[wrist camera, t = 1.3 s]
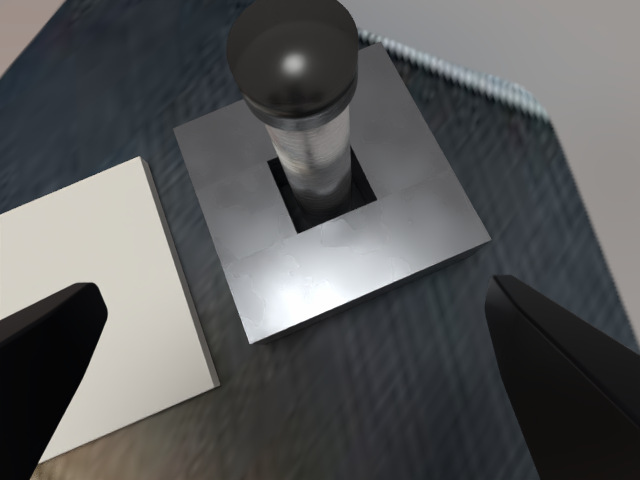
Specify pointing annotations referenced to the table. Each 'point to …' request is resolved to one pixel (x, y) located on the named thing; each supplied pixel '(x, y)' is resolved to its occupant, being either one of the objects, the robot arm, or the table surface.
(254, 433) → the table surface
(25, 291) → the pad
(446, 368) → the table surface
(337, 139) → the black knobbed metal rod
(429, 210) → the grey square frame block
